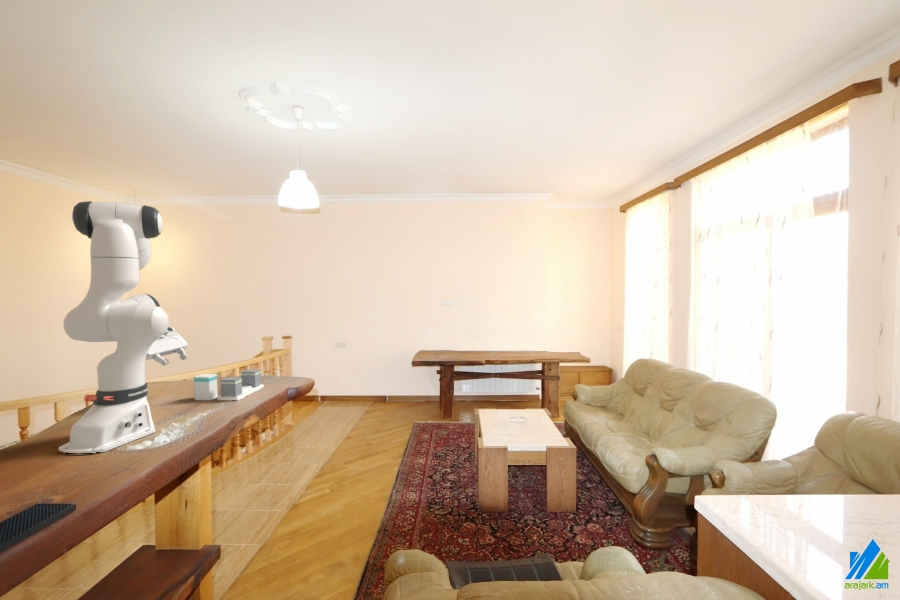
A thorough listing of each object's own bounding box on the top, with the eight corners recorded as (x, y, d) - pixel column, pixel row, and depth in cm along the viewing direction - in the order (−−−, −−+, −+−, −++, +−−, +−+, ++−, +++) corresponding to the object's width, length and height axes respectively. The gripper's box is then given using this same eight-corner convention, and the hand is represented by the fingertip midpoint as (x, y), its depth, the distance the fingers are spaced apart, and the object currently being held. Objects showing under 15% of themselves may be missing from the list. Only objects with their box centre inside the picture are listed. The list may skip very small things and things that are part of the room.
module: (209, 400, 152) (208, 377, 152) (194, 400, 153) (193, 376, 152) (217, 396, 157) (216, 374, 156) (203, 396, 157) (202, 373, 157)
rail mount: (237, 400, 152) (236, 380, 151) (217, 400, 152) (216, 380, 152) (263, 387, 169) (263, 369, 169) (245, 386, 170) (245, 369, 170)
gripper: (132, 334, 144) (159, 361, 144) (176, 327, 165) (199, 350, 165) (122, 346, 145) (148, 373, 145) (166, 337, 165) (190, 361, 165)
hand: (176, 361), depth 155 cm, fingers open, 8 cm apart
